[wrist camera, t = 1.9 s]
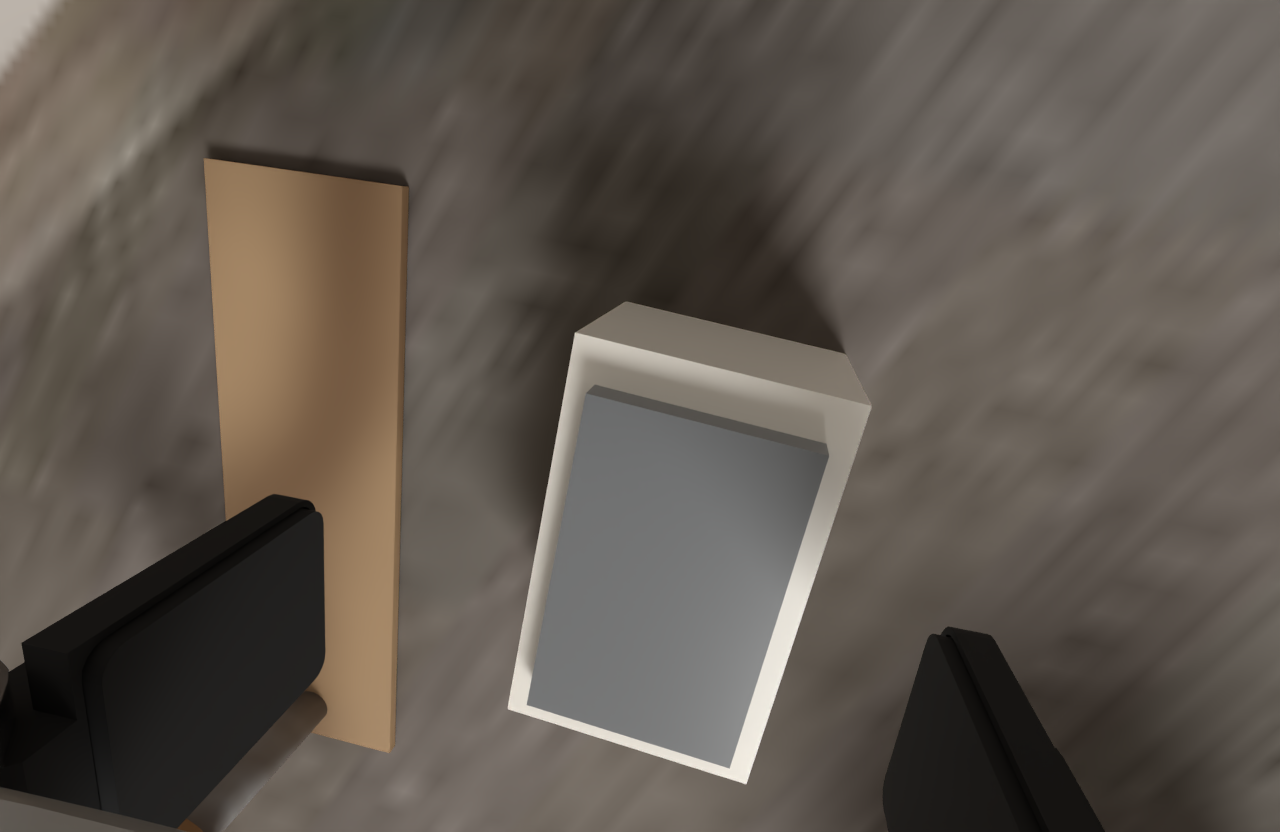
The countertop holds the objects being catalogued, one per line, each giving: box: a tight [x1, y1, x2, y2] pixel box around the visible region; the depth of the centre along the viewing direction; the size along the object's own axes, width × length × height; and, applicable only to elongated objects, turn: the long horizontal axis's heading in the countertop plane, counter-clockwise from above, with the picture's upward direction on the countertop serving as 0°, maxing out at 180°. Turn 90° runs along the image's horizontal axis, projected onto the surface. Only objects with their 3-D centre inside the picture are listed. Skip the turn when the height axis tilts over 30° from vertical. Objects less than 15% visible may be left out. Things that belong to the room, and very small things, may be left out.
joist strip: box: [204, 158, 409, 753], centre depth 18 cm, size 5×16×1 cm, turn 173°
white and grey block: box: [508, 301, 872, 784], centre depth 14 cm, size 5×8×5 cm, turn 169°
